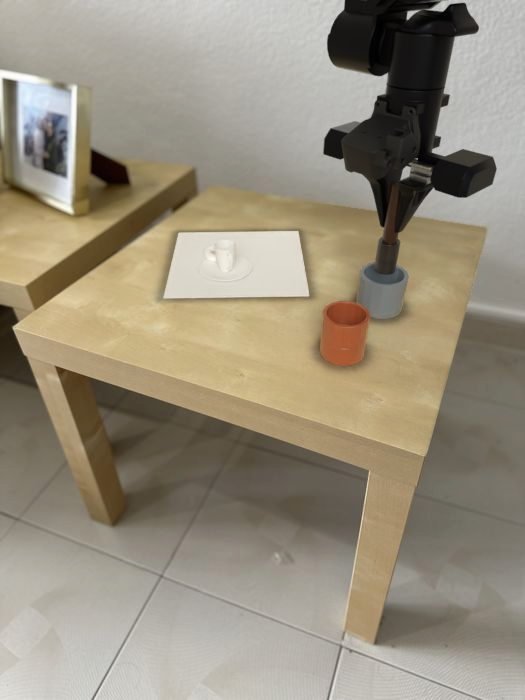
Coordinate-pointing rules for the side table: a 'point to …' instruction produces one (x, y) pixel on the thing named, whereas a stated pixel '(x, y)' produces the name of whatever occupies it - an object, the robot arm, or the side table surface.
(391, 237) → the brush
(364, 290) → the cup
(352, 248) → the side table surface
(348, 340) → the holder
